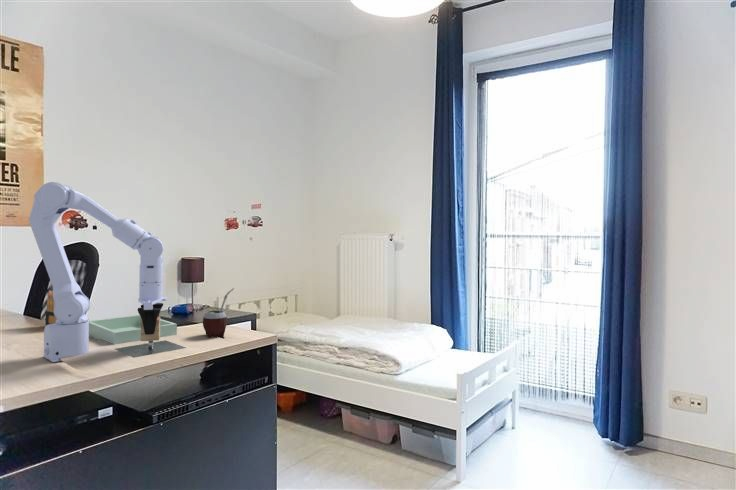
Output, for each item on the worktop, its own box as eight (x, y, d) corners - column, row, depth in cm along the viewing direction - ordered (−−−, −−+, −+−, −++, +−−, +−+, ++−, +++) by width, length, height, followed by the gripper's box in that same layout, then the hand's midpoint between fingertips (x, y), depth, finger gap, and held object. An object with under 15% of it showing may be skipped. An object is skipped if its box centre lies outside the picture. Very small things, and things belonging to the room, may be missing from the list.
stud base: (133, 360, 120) (133, 341, 119) (114, 351, 127) (114, 333, 127) (186, 350, 130) (186, 332, 130) (165, 343, 138) (165, 326, 138)
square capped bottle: (158, 340, 127) (159, 312, 127) (140, 341, 126) (140, 312, 126) (160, 336, 132) (160, 309, 131) (142, 337, 130) (142, 309, 130)
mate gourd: (198, 339, 143) (198, 289, 143) (212, 334, 151) (213, 286, 150) (220, 341, 141) (220, 291, 141) (233, 335, 149) (234, 288, 148)
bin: (114, 347, 132) (114, 332, 132) (85, 334, 147) (85, 321, 147) (176, 336, 146) (176, 323, 146) (144, 326, 160) (144, 314, 160)
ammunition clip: (45, 326, 157) (45, 290, 156) (51, 325, 158) (51, 289, 158) (62, 330, 151) (62, 292, 151) (69, 329, 153) (69, 292, 153)
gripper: (165, 284, 123) (164, 337, 123) (169, 278, 136) (168, 326, 137) (134, 285, 120) (134, 338, 121) (141, 279, 134) (141, 327, 135)
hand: (150, 332), depth 129 cm, fingers closed on square capped bottle, 4 cm apart
